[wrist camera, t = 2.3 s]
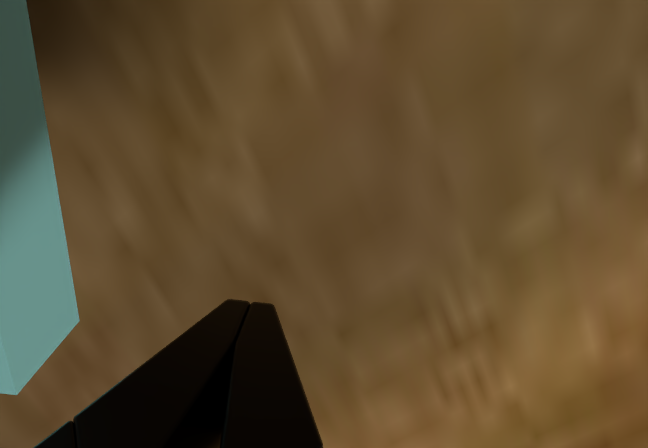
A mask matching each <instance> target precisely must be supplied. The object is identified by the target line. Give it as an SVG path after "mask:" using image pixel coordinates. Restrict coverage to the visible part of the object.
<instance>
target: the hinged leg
mask: <svg viewBox="0 0 648 448" xmlns="http://www.w3.org/2000/svg"><path fill="white" fill-rule="evenodd" d="M78 322H79V315H78V309H77V303H76V297H75V291H74V285H73V279H72V273H71V267H70V261H69V255H68V249H67V243H66V237H65V231H64V225H63V219H62V213H61V207H60V201H59V195H58V189H57V183H56V177H55V171H54V165H53V159H52V153H51V147H50V141H49V135H48V129H47V123H46V117H45V111H44V105H43V99H42V93H41V87H40V81H39V75H38V69H37V63H36V57H35V51H34V45H33V39H32V33H31V27H30V21H29V15H28V9H27V3H26V0H0V393H3V394H12V395H17V394H18V393H19V392H20V391H21V389H22V388H23V387H24V386H25V385H26V383H27V382H28V381H29V380H30V379H31V378H32V376H33V375H34V374H35V373H36V372H37V370H38V369H39V368H40V367H41V366H42V365H43V363H44V362H45V361H46V360H47V359H48V357H49V356H50V355H51V354H52V353H53V352H54V350H55V349H56V348H57V347H58V346H59V344H60V343H61V342H62V341H63V340H64V339H65V337H66V336H67V335H68V334H69V333H70V331H71V330H72V329H73V328H74V327H75V326H76V324H77V323H78Z"/></svg>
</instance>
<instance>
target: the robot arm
mask: <svg viewBox="0 0 648 448" xmlns="http://www.w3.org/2000/svg"><path fill="white" fill-rule="evenodd" d="M73 422H74V423H73ZM34 448H323V443H322V440H321V437H320V434H319V432H318V429H317V426H316V423H315V420H314V417H313V415H312V412H311V409H310V406H309V403H308V400H307V397H306V395H305V392H304V389H303V386H302V383H301V380H300V377H299V375H298V372H297V369H296V366H295V363H294V360H293V358H292V355H291V352H290V349H289V346H288V343H287V340H286V338H285V335H284V332H283V329H282V326H281V323H280V320H279V318H278V315H277V312H276V309H275V307H274V305H273V304H269V303H260V302H253V303H251V304H250V303H249V302H248V301H242V300H234V299H228V300H226V301H224V302H223V303H222V304H221V305H219V306H218V307H217V308H215V309H214V310H213V311H211V312H210V313H209V314H208V315H206V316H205V317H204V318H202V319H201V320H200V321H198V322H197V323H196V324H195V325H193V326H192V327H191V328H189V329H188V330H187V331H185V332H184V333H183V334H182V335H180V336H179V337H178V338H176V339H175V340H174V341H172V342H171V343H170V344H168V345H167V346H166V347H165V348H163V349H162V350H161V351H159V352H158V353H157V354H155V355H154V356H153V357H152V358H150V359H149V360H148V361H146V362H145V363H144V364H142V365H141V366H140V367H139V368H137V369H136V370H135V371H133V372H132V373H131V374H129V375H128V376H127V377H126V378H124V379H123V380H122V381H120V382H119V383H118V384H116V385H115V386H114V387H112V388H111V389H110V390H109V391H107V392H106V393H105V394H103V395H102V396H101V397H99V398H98V399H97V400H96V401H94V402H93V403H92V404H90V405H89V406H88V407H86V408H85V409H84V410H83V411H81V412H80V413H79V414H77V415H76V416H75V417H74V419H73V421H68V422H67V423H65V424H64V425H63V426H61V427H60V428H59V429H57V430H56V431H55V432H54V433H52V434H51V435H50V436H48V437H47V438H46V439H44V440H43V441H42V442H40V443H39V444H38V445H36V446H35V447H34Z"/></svg>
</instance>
